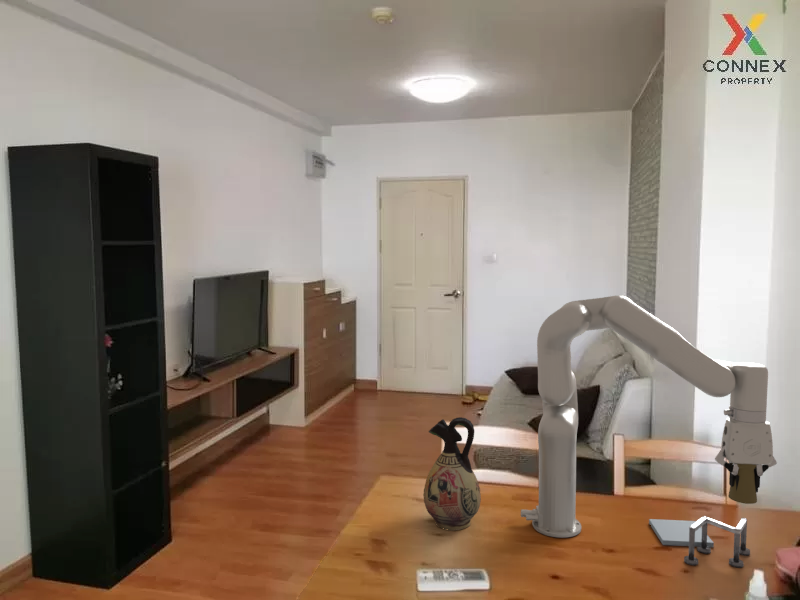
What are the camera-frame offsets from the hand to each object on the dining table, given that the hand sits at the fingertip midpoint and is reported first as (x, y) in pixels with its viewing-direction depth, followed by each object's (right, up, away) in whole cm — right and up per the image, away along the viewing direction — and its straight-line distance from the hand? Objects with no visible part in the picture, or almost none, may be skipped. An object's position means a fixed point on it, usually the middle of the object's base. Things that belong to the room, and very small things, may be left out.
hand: (744, 489), depth 145 cm
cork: (0, -3, 0) cm, 3 cm away
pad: (-10, -15, +11) cm, 21 cm away
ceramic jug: (-68, -15, +18) cm, 72 cm away
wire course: (-7, -16, -1) cm, 18 cm away
